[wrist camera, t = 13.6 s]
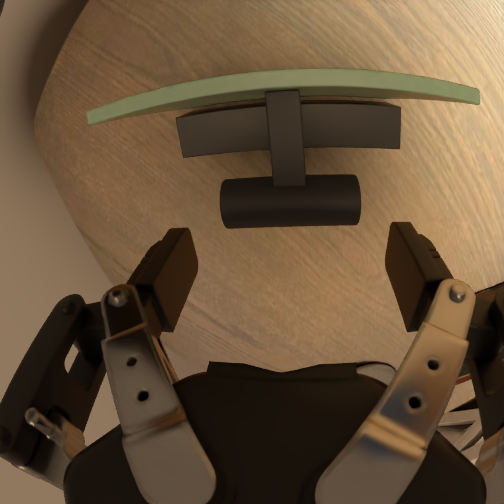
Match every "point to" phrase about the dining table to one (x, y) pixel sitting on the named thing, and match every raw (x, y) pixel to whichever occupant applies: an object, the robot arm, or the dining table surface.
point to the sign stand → (313, 119)
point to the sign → (287, 136)
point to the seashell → (378, 372)
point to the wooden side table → (472, 432)
